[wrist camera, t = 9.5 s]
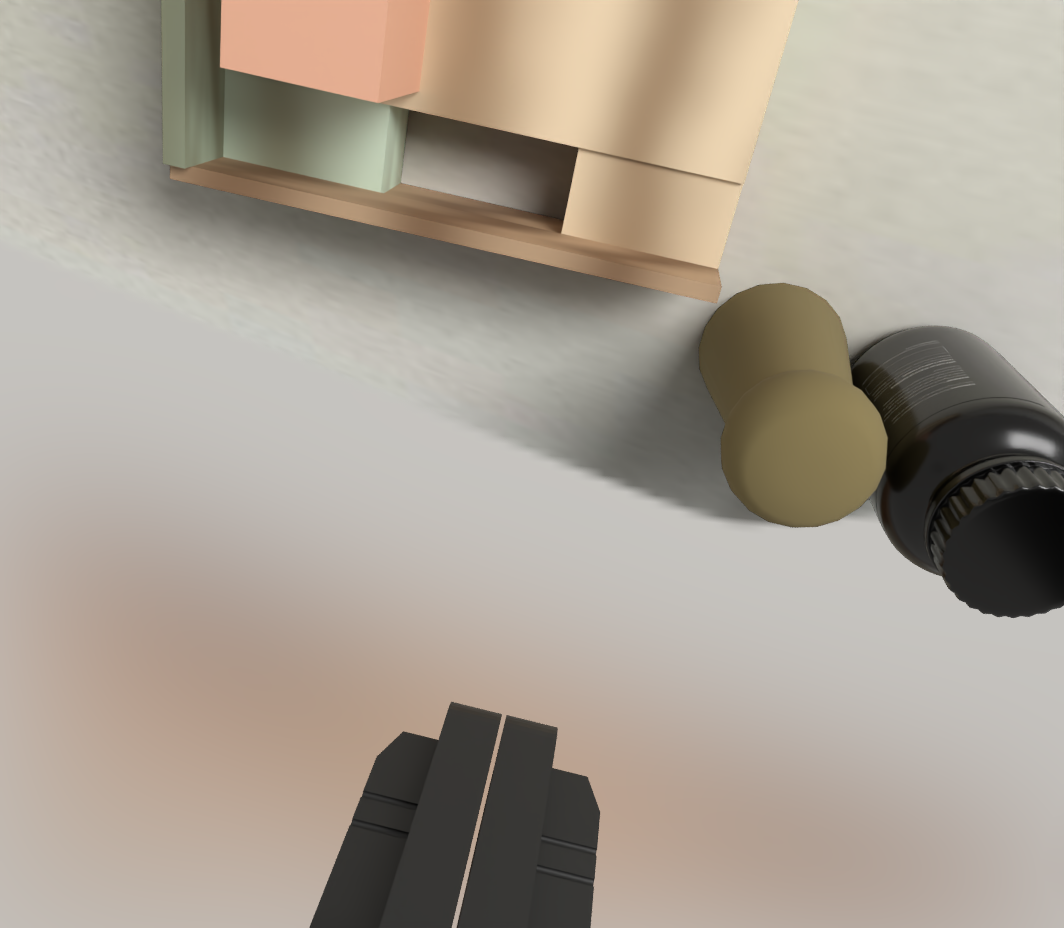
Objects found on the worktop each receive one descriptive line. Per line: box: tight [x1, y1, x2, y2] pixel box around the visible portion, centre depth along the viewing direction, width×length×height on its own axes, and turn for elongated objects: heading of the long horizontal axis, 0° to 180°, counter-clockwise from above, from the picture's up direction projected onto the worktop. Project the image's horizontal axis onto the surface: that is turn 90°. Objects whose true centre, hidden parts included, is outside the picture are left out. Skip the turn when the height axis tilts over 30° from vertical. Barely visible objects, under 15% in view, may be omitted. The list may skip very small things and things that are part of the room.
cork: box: [699, 283, 888, 527], centre depth 32 cm, size 6×6×11 cm
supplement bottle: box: [851, 326, 1064, 618], centre depth 31 cm, size 7×7×12 cm
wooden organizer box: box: [161, 0, 799, 303], centre depth 30 cm, size 20×14×6 cm
